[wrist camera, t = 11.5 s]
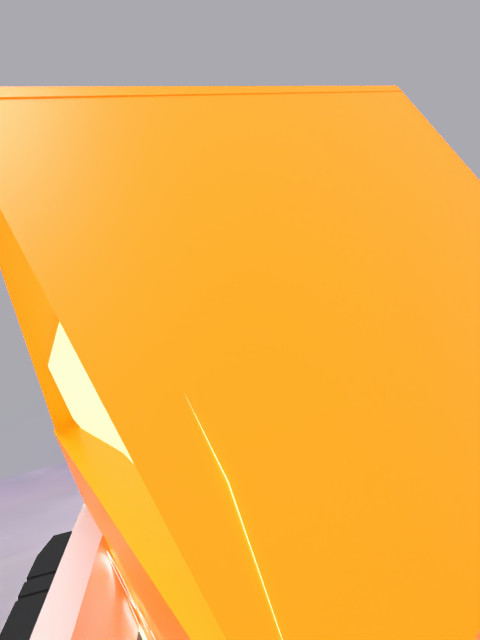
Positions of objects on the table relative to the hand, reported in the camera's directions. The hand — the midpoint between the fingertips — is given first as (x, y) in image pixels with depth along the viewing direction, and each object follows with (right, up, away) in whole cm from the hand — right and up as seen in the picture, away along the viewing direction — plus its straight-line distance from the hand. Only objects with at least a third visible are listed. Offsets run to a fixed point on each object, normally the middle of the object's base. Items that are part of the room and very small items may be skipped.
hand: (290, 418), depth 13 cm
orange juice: (+3, -12, -1) cm, 12 cm away
